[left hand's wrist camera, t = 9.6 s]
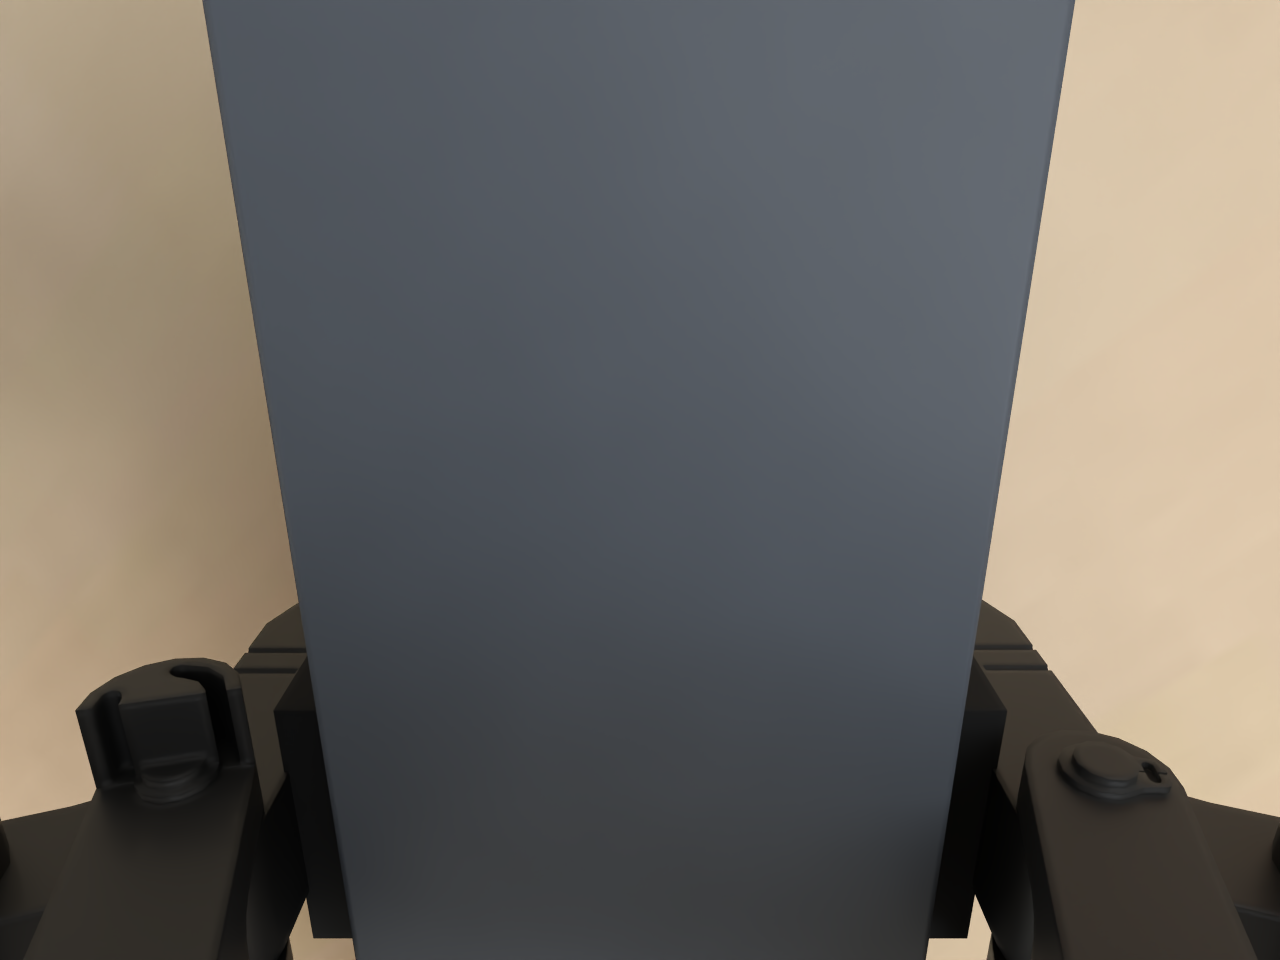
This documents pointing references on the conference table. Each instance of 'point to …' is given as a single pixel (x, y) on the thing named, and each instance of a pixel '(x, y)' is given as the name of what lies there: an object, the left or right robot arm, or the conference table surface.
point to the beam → (639, 446)
